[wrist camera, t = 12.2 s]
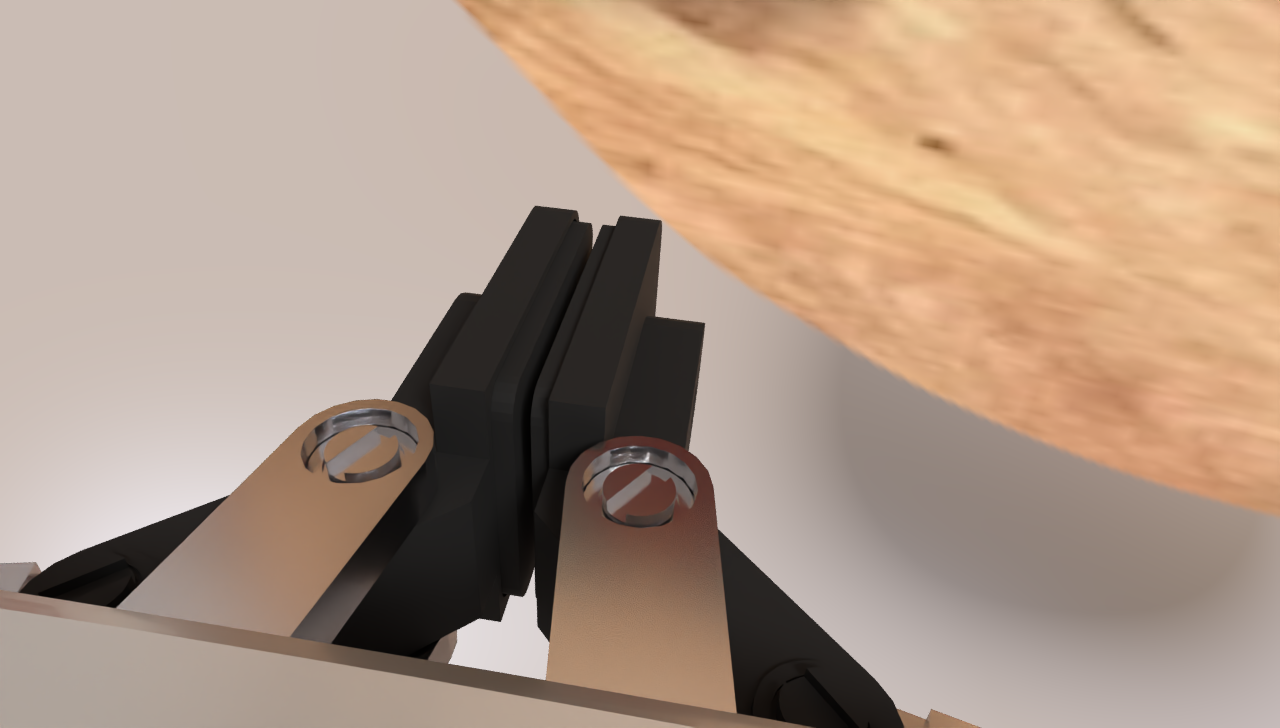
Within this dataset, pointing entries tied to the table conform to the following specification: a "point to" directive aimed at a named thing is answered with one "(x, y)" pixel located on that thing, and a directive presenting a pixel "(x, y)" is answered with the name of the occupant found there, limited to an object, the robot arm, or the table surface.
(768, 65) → the table surface
